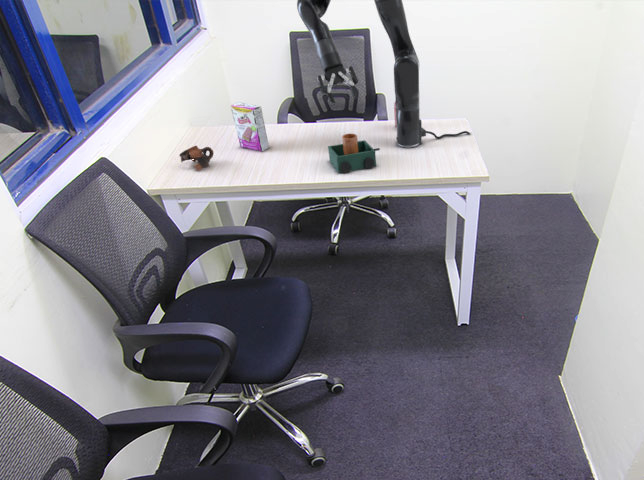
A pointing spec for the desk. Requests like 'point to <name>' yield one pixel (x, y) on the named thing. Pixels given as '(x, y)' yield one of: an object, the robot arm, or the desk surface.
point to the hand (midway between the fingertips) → (344, 100)
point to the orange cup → (350, 144)
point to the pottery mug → (197, 156)
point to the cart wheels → (368, 164)
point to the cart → (351, 156)
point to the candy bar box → (250, 126)
